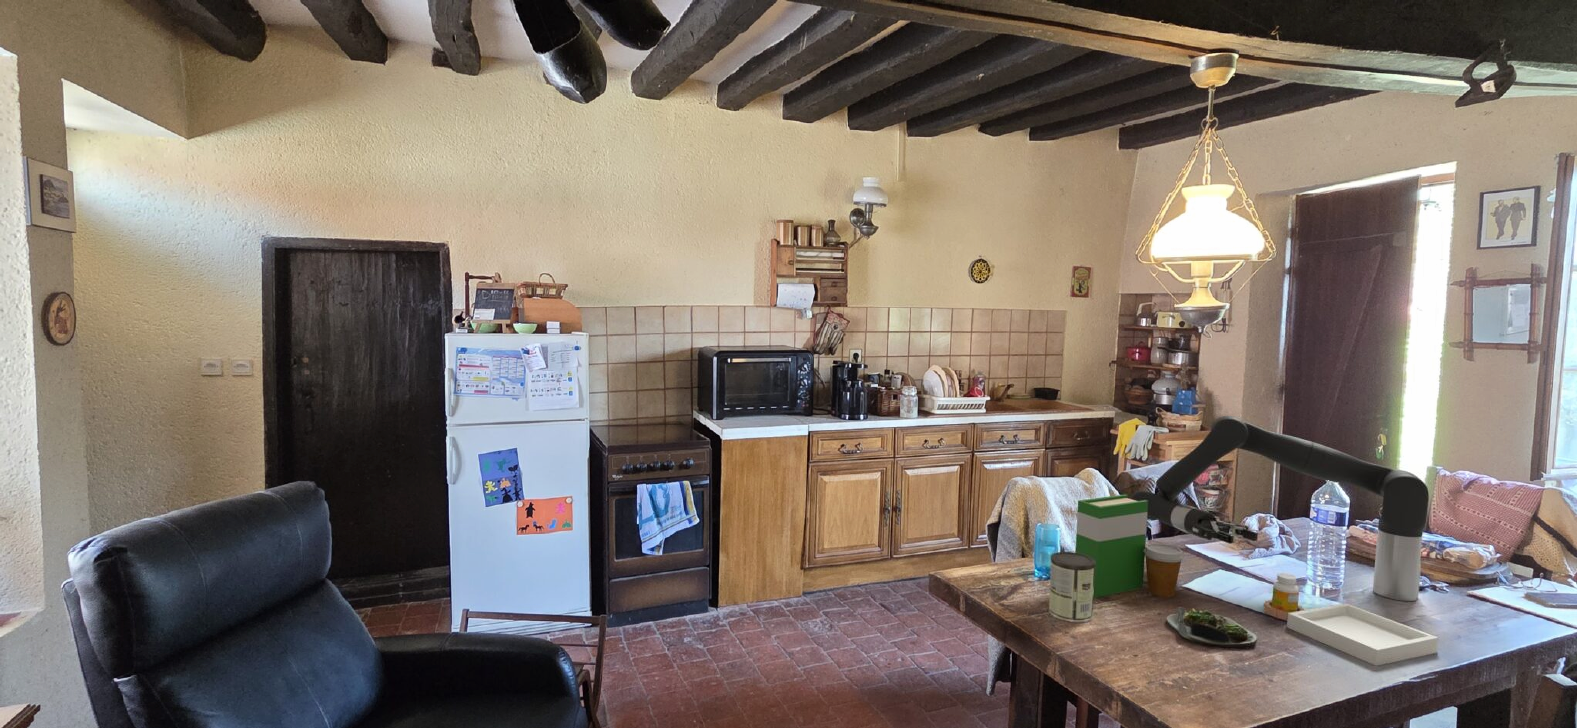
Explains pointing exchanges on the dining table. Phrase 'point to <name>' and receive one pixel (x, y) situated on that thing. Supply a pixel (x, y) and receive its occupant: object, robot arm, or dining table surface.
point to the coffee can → (1071, 587)
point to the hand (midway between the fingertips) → (1244, 538)
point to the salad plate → (1211, 630)
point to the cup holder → (1276, 612)
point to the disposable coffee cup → (1162, 568)
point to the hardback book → (1113, 541)
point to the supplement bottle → (1285, 593)
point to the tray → (1363, 633)
